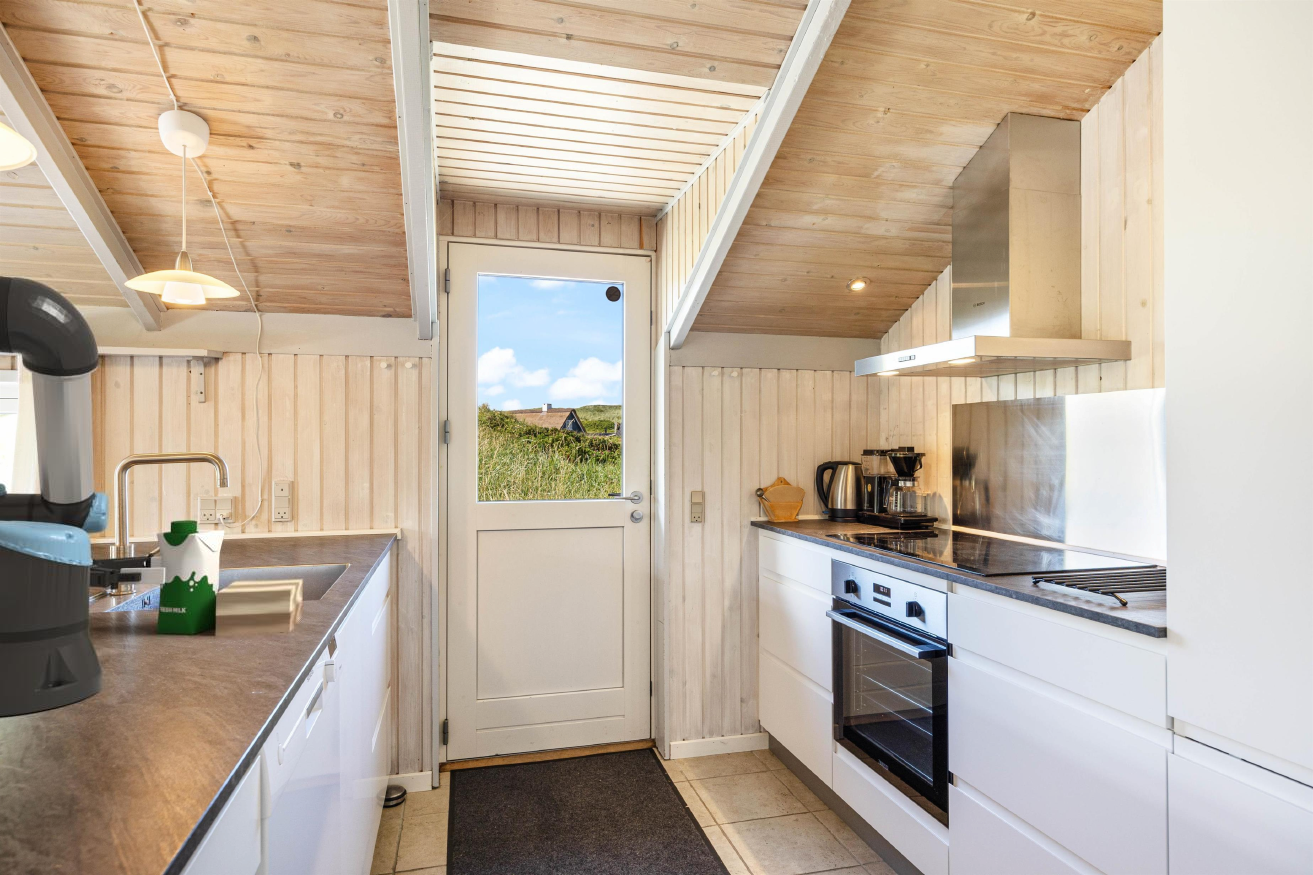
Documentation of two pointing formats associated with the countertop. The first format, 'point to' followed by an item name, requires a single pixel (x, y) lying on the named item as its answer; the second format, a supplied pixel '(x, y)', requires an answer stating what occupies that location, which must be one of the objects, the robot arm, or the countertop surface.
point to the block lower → (258, 622)
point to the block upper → (259, 597)
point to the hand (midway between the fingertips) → (178, 569)
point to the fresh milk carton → (188, 578)
